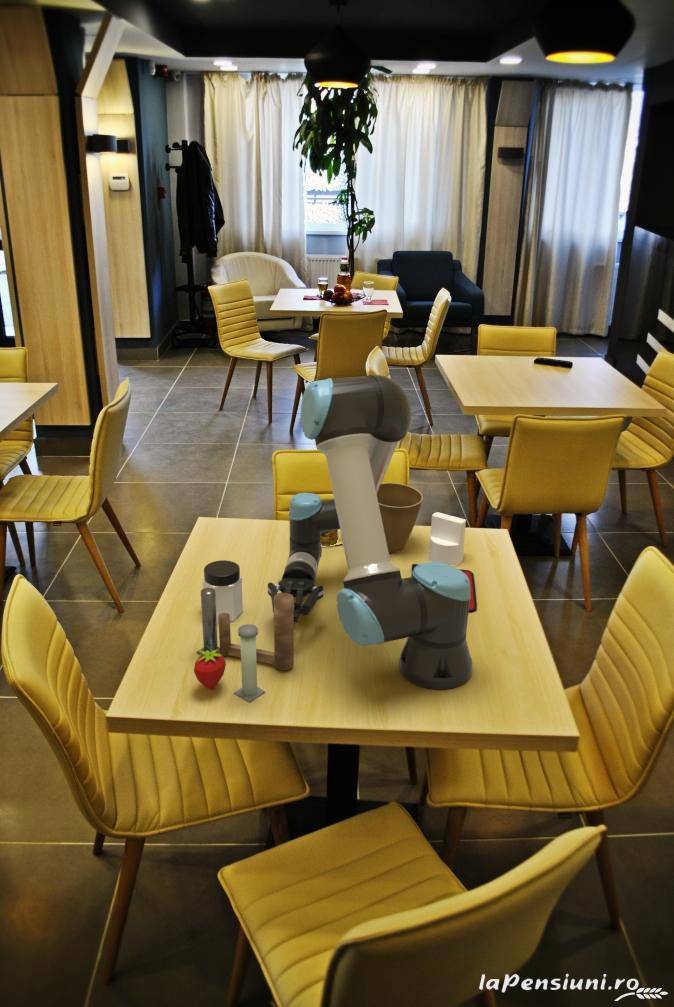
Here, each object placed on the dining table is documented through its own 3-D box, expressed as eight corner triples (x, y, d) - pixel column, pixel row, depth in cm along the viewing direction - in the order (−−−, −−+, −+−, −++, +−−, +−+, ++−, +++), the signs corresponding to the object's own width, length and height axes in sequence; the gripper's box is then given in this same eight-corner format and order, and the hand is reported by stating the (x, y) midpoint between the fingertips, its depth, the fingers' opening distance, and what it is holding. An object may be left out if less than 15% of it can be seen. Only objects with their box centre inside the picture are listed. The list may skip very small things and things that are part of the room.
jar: (241, 603, 203) (240, 558, 198) (244, 621, 195) (242, 574, 190) (203, 606, 201) (201, 561, 196) (204, 624, 194) (202, 577, 189)
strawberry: (188, 696, 168) (186, 653, 164) (206, 675, 175) (204, 634, 171) (215, 702, 167) (213, 659, 163) (232, 682, 173) (231, 640, 169)
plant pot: (352, 539, 234) (356, 487, 227) (398, 531, 241) (404, 479, 234) (379, 564, 222) (384, 510, 216) (427, 554, 229) (433, 501, 222)
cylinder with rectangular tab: (422, 560, 225) (425, 519, 221) (438, 548, 232) (441, 508, 227) (453, 569, 221) (456, 527, 216) (468, 557, 227) (472, 516, 223)
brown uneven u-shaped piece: (216, 656, 180) (213, 589, 174) (224, 646, 184) (221, 581, 178) (289, 671, 176) (289, 603, 169) (296, 661, 179) (296, 594, 173)
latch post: (265, 692, 170) (264, 628, 164) (249, 702, 167) (247, 638, 161) (249, 683, 173) (248, 621, 167) (234, 693, 169) (231, 629, 164)
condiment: (317, 548, 231) (318, 508, 226) (309, 536, 238) (309, 496, 233) (343, 545, 233) (344, 505, 228) (334, 533, 240) (334, 493, 235)
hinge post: (225, 651, 183) (222, 590, 177) (210, 660, 180) (207, 598, 174) (211, 644, 186) (208, 584, 180) (196, 652, 183) (192, 591, 177)
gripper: (327, 590, 200) (317, 644, 178) (271, 587, 200) (254, 640, 179) (328, 561, 197) (317, 613, 175) (271, 558, 198) (253, 610, 176)
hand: (285, 627), depth 177 cm, fingers closed
